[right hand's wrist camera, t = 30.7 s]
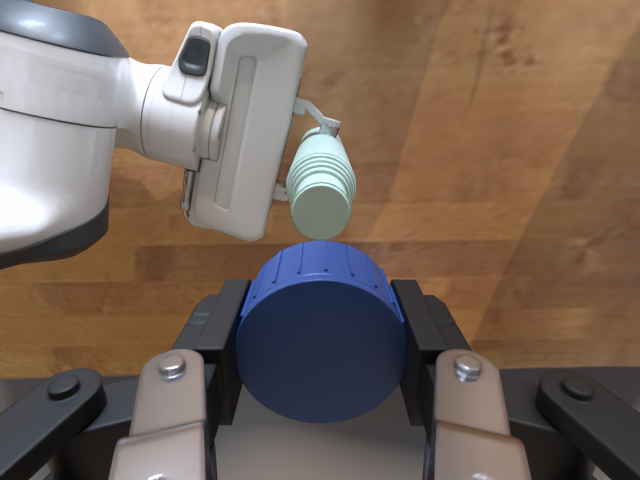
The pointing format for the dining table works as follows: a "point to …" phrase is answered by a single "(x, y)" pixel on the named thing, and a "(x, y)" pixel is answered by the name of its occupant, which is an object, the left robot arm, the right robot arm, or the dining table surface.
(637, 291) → the dining table surface
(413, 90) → the dining table surface
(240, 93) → the left robot arm
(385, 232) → the dining table surface
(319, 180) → the bottle
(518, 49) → the dining table surface
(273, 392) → the cap
